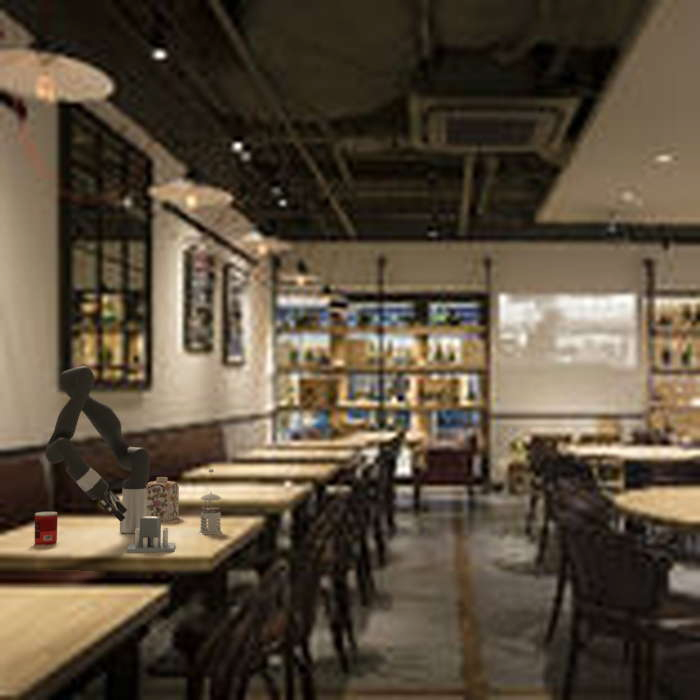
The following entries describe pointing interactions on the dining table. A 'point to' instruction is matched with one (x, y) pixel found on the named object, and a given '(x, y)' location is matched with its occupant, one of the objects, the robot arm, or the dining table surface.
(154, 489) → the decorative jar
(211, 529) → the french press
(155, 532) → the block
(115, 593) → the dining table surface
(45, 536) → the canned food
